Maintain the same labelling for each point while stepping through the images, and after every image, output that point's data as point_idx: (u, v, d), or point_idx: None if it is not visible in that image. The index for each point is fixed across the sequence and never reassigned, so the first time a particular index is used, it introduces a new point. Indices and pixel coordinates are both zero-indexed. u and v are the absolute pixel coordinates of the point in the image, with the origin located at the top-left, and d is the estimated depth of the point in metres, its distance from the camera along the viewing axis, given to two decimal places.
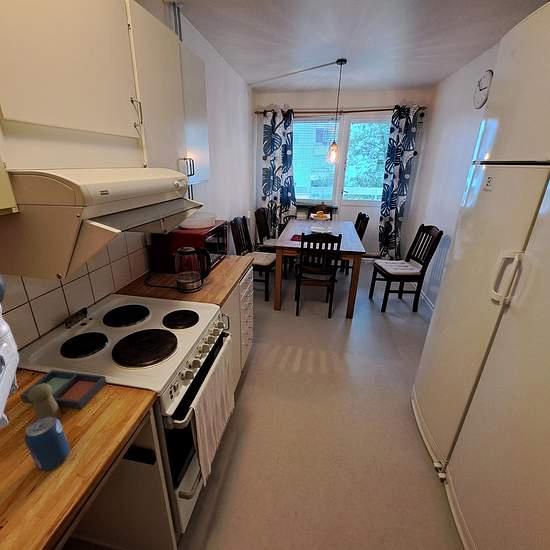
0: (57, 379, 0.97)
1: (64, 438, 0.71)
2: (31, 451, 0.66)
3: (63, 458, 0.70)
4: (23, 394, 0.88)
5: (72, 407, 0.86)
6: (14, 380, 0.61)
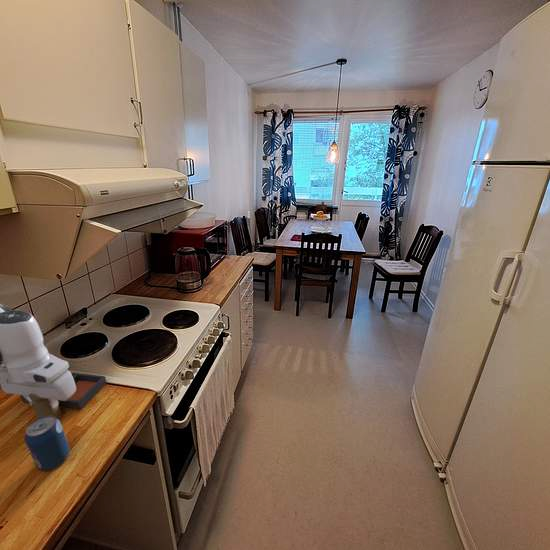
0: None
1: (64, 438, 0.71)
2: (31, 451, 0.66)
3: (63, 458, 0.70)
4: None
5: (72, 407, 0.86)
6: None
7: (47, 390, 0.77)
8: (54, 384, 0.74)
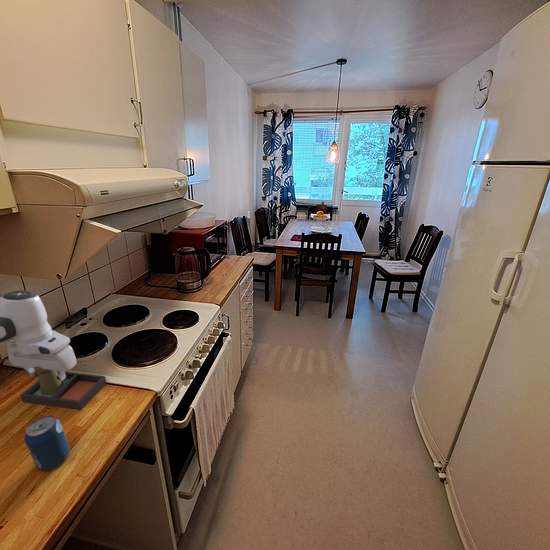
0: None
1: (64, 438, 0.71)
2: (31, 451, 0.66)
3: (63, 458, 0.70)
4: (23, 394, 0.88)
5: (72, 407, 0.86)
6: None
7: (50, 362, 0.86)
8: (56, 356, 0.84)
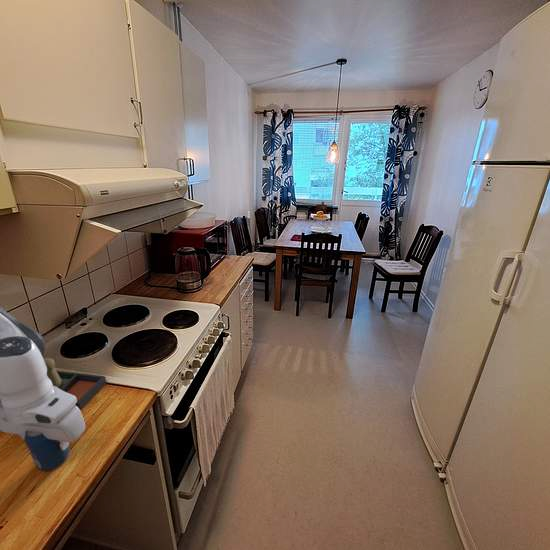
0: None
1: None
2: (31, 451, 0.66)
3: (63, 458, 0.70)
4: None
5: None
6: None
7: (51, 430, 0.65)
8: (60, 424, 0.62)
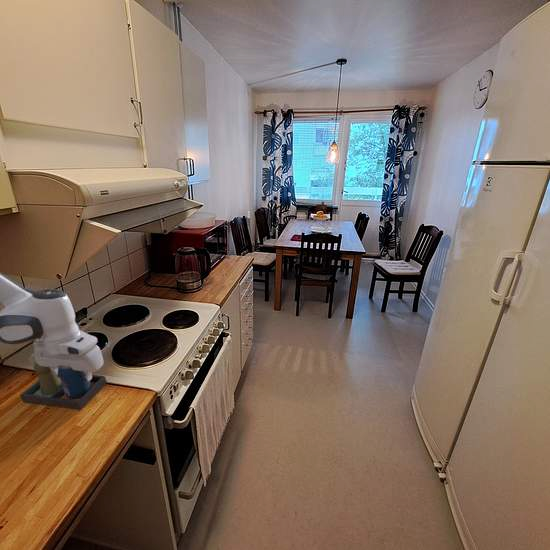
0: None
1: None
2: (63, 381, 0.86)
3: (86, 390, 0.90)
4: (23, 394, 0.88)
5: (72, 407, 0.86)
6: None
7: (78, 362, 0.84)
8: (85, 356, 0.82)
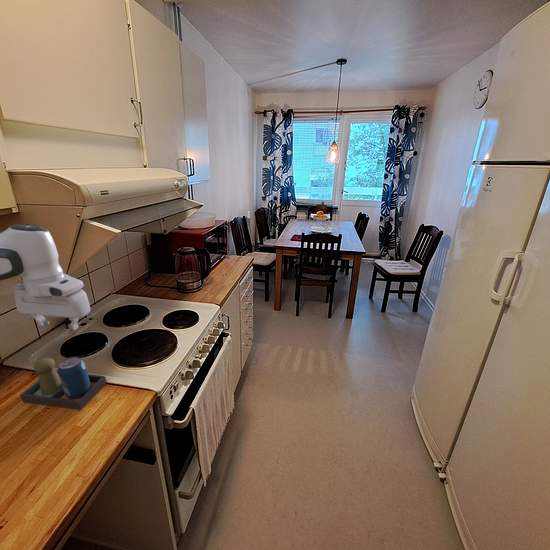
0: None
1: (87, 375, 0.91)
2: (63, 381, 0.86)
3: (86, 390, 0.90)
4: (23, 394, 0.88)
5: (72, 407, 0.86)
6: (43, 317, 0.83)
7: (62, 307, 0.77)
8: (69, 298, 0.75)
